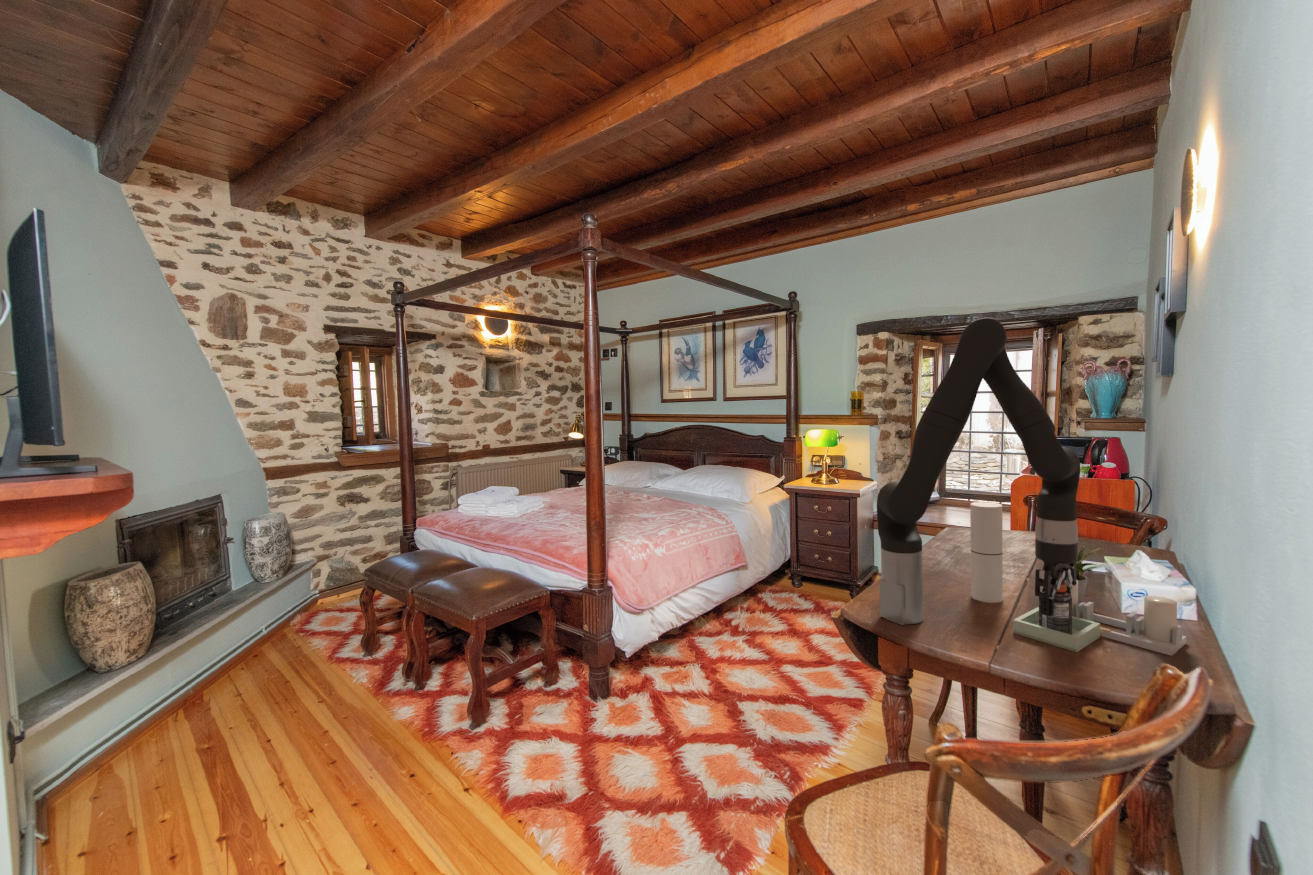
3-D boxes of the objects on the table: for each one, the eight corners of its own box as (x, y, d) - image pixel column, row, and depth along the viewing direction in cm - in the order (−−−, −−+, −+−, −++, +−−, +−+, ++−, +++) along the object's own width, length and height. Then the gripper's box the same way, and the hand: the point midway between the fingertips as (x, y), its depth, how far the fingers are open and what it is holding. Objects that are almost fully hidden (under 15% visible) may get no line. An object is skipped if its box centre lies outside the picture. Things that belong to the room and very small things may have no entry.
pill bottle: (1047, 624, 123) (1047, 576, 122) (1077, 633, 118) (1077, 583, 117) (1033, 630, 120) (1033, 581, 119) (1063, 640, 115) (1063, 589, 114)
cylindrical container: (971, 600, 140) (971, 506, 139) (970, 591, 147) (969, 501, 145) (1004, 604, 137) (1003, 507, 135) (1001, 594, 143) (1000, 502, 142)
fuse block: (1171, 655, 108) (1172, 609, 107) (1041, 619, 127) (1041, 580, 126) (1186, 643, 112) (1186, 599, 112) (1058, 610, 132) (1058, 572, 131)
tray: (1076, 652, 111) (1076, 638, 111) (1013, 632, 121) (1013, 619, 121) (1100, 636, 117) (1100, 623, 117) (1037, 619, 127) (1037, 606, 127)
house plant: (1017, 594, 143) (1017, 534, 142) (1052, 585, 148) (1052, 527, 147) (1075, 612, 130) (1075, 546, 129) (1111, 602, 135) (1112, 539, 134)
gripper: (1061, 547, 111) (1061, 623, 112) (1090, 535, 118) (1089, 607, 119) (1021, 540, 117) (1021, 612, 118) (1051, 529, 125) (1051, 597, 126)
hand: (1056, 610), depth 119 cm, fingers open, 8 cm apart
